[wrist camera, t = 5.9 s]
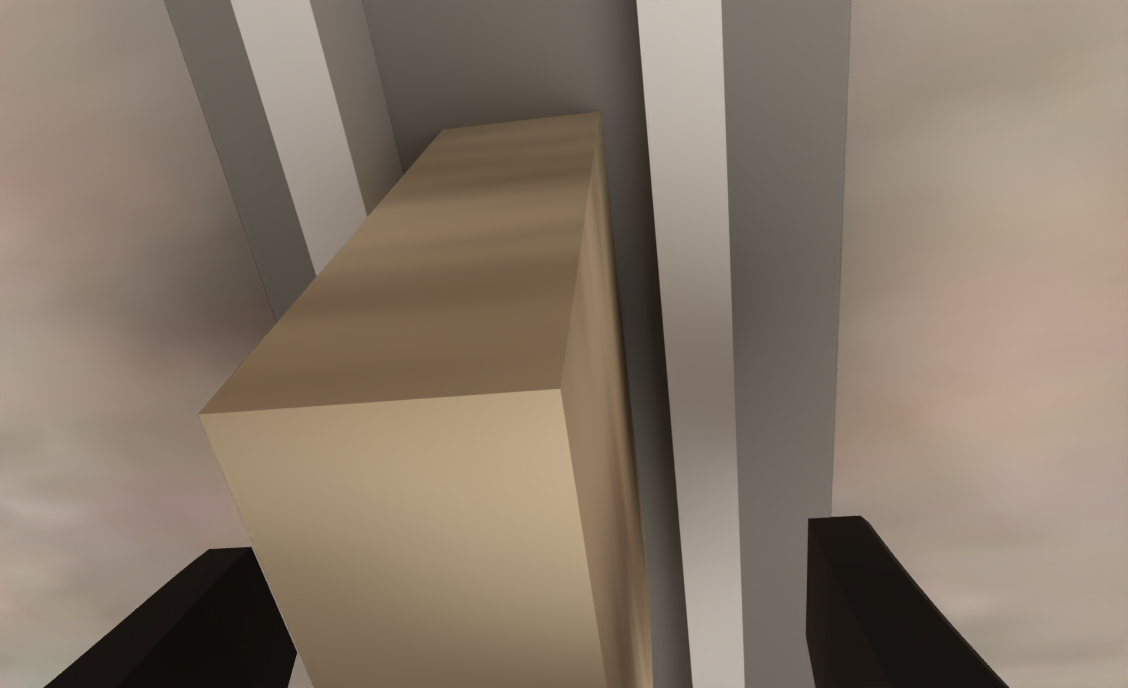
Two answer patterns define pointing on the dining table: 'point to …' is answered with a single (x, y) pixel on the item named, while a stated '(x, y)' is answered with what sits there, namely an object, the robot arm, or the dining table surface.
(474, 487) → the door panel
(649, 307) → the track board
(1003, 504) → the dining table surface
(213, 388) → the dining table surface
